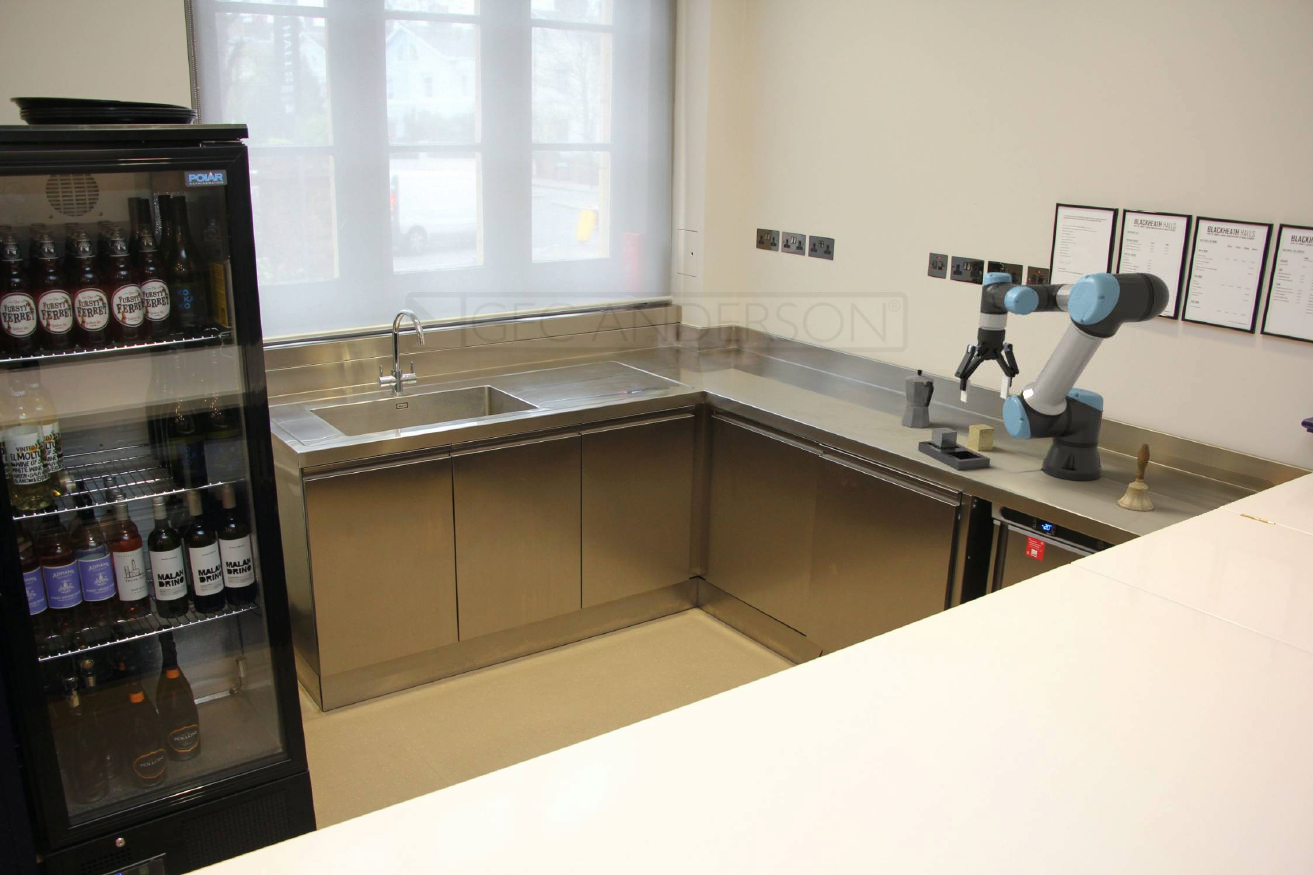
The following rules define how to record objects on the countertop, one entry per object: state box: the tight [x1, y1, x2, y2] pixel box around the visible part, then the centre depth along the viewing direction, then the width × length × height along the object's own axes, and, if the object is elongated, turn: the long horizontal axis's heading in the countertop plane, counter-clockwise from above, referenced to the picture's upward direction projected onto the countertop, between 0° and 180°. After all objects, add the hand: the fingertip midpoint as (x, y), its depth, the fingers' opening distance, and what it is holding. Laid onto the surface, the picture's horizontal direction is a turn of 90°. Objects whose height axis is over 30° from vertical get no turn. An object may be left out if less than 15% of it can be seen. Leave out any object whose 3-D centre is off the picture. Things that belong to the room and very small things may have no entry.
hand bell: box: [1116, 443, 1154, 512], centre depth 250 cm, size 8×8×16 cm
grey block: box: [930, 427, 958, 450], centre depth 291 cm, size 5×5×7 cm
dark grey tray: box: [917, 440, 991, 471], centre depth 287 cm, size 20×10×3 cm, turn 18°
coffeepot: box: [901, 369, 935, 429], centre depth 321 cm, size 15×9×18 cm, turn 14°
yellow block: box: [967, 423, 995, 452], centre depth 297 cm, size 5×5×7 cm
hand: (984, 400), depth 294 cm, fingers open, 13 cm apart
